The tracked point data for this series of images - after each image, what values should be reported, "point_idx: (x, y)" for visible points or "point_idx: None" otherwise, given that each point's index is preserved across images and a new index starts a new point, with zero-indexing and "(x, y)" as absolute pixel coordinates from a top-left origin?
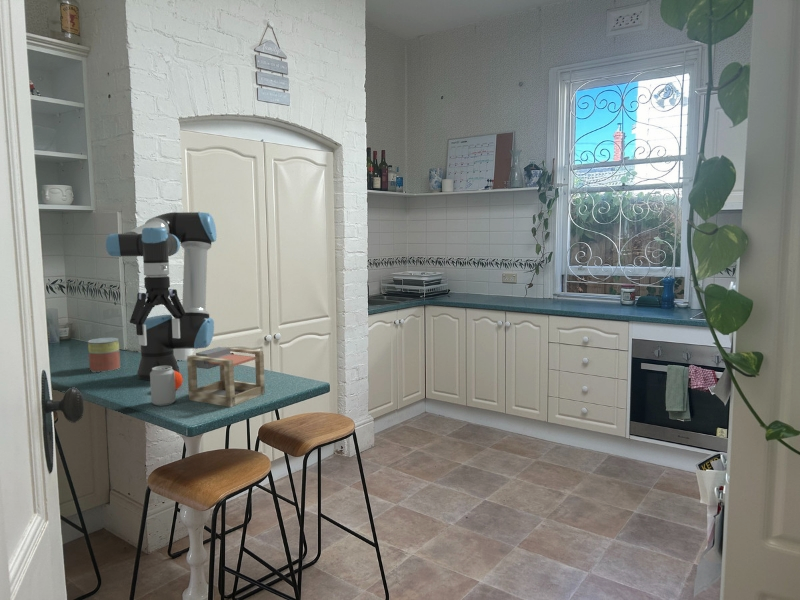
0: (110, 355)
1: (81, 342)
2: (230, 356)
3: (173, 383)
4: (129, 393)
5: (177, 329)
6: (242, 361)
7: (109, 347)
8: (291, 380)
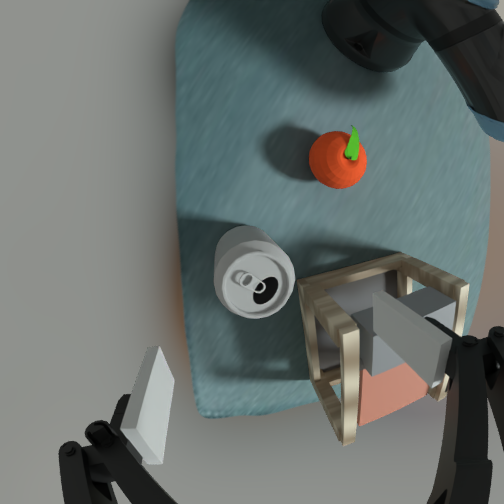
0: None
1: None
2: None
3: (267, 297)
4: (236, 97)
5: (397, 350)
6: (388, 413)
7: None
8: None
